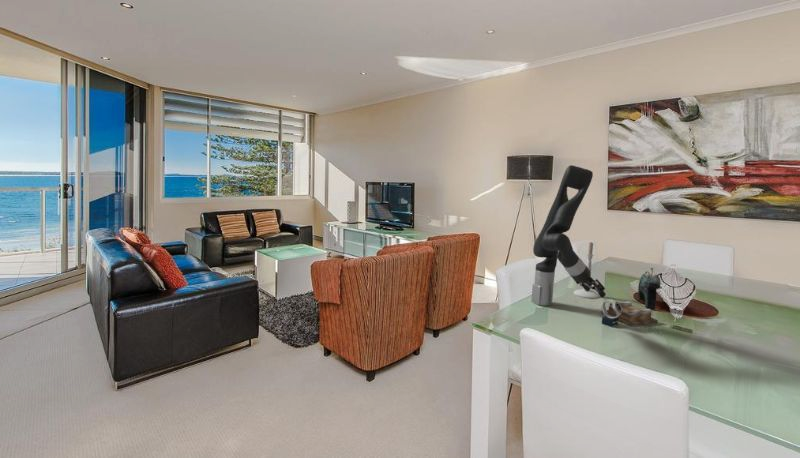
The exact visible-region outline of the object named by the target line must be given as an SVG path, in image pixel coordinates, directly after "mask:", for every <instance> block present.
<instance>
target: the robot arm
mask: <svg viewBox="0 0 800 458" xmlns="http://www.w3.org/2000/svg"><path fill="white" fill-rule="evenodd" d="M593 175H594V174H593V171H592V170H590V169H586V168H583V167H580V166H576V165H572V164H571V165H568V166H567V167H566V169H565V171H564V174H563V177H562V178H561V180H560V181H561V182H560V184H559V186H558V187H559V188H558V191H557V193H556V196H555V198H554V200H553V203H552V205H551V207H550V210H549V211H548V214H547V217H546V220H545V222H544V224H543V226H542V228H541V230H540V232H539V234H538V236H537V238H536V239H535V242H534V244H533V249H532V250H533V254H534V256H535V257H537V258H545V259H544V260H542V261H540V262H537V263H536V264H535V273H534V283H533V284H532V289H531V290H532V291H531V302H532V303H533V302H534V303H533V304H536V305H537V306H542V307H543V306H546V307H548V306H552V305H553V299H554V298H553V296H554V288H555V286H554V285H555V274H556V273H555V272H556V267H557V263H558V261H559V263H560V264H561V265H562V266H563V268H564V269H565V271H566V273H568V275H569V276H570V277H571V278H572V280H573V281H574V282H575V283H576V284H577V285H579V286H580V287H582V289H583V288H584V289H585V290H586V291H587V292H588V291H589V290H590V289H591V291H593V290H594V292H596V293H597V294H598V295H599V297H601V298H605V297H606V295H607V294H606V293H605V290H606V288H605V286H604V285H603V284H602V283H601V282H600V281H599V279H597V278H596V279H594V278H593V277H592V275H591V276H590V270H589V269H588V267H587V264H585V261H583V259H582V258H580V257H579V256H578V253H576V252H575V251H574V248H573V246H572V243H571V240H570V238H569V236H568V235H566V234H565V233H566V232H568V231H569V230H570V229H571V228H572V224H573V221H574V218H575V216H576V213H577V212H578V210H579V207H580V205H581V203H582V201H583V199H584V198H585V195H586V193H587V192H588V189H589V187H590V185H591V183H592V181H593ZM568 188H571V189H574V190H577V193H576V194H574V196H573V197H571V198H570V199H569V197H568Z"/></svg>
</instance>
